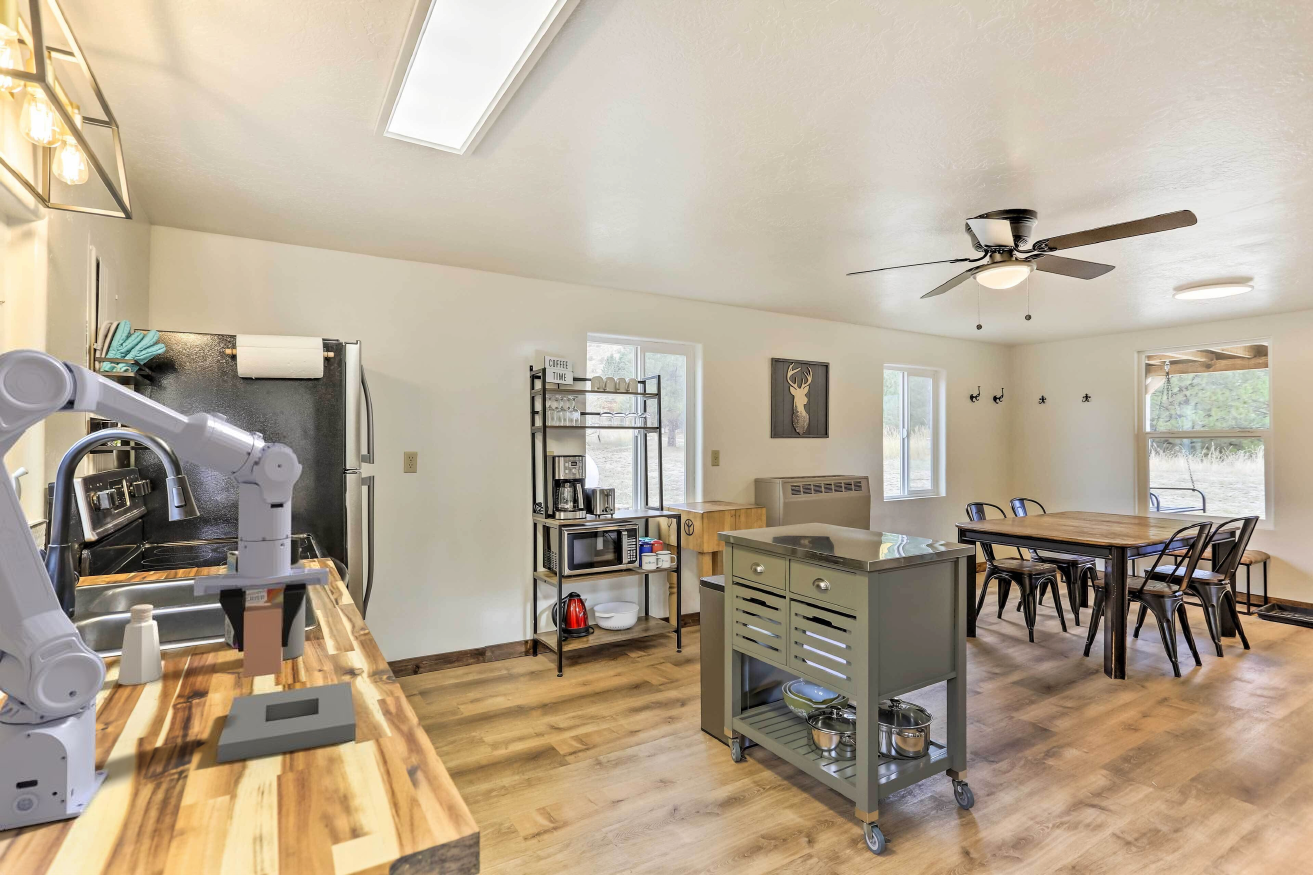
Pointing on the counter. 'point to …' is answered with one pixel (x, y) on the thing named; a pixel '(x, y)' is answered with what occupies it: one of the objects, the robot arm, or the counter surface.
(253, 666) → the terracotta peg
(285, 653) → the lotion bottle
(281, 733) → the socket block
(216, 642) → the counter surface
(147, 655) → the pepper shaker
